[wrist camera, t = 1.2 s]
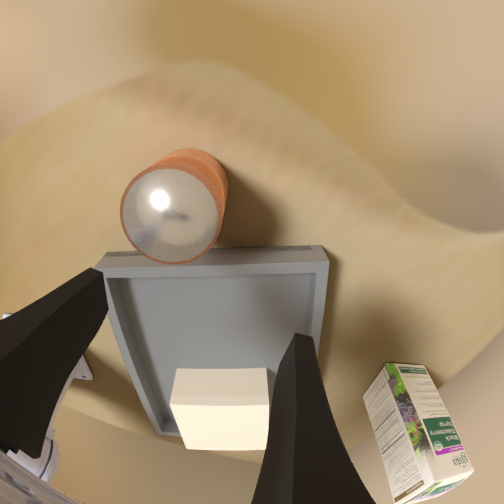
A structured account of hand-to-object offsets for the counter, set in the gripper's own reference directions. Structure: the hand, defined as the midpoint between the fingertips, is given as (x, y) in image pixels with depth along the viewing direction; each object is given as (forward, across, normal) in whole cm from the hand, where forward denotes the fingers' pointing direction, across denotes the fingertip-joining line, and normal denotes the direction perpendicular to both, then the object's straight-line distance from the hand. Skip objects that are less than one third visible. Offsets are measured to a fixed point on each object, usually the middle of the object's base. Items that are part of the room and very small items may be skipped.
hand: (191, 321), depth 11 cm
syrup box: (+12, -19, +17) cm, 28 cm away
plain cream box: (+8, -2, +19) cm, 21 cm away
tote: (+9, -1, +15) cm, 17 cm away
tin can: (+11, +4, +1) cm, 12 cm away
